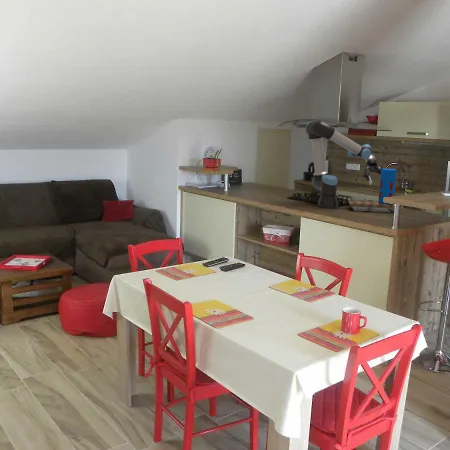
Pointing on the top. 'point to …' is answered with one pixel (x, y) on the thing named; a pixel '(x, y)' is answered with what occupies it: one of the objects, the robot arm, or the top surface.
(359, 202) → the levelling board
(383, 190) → the blue tall block
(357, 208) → the tribrach base
